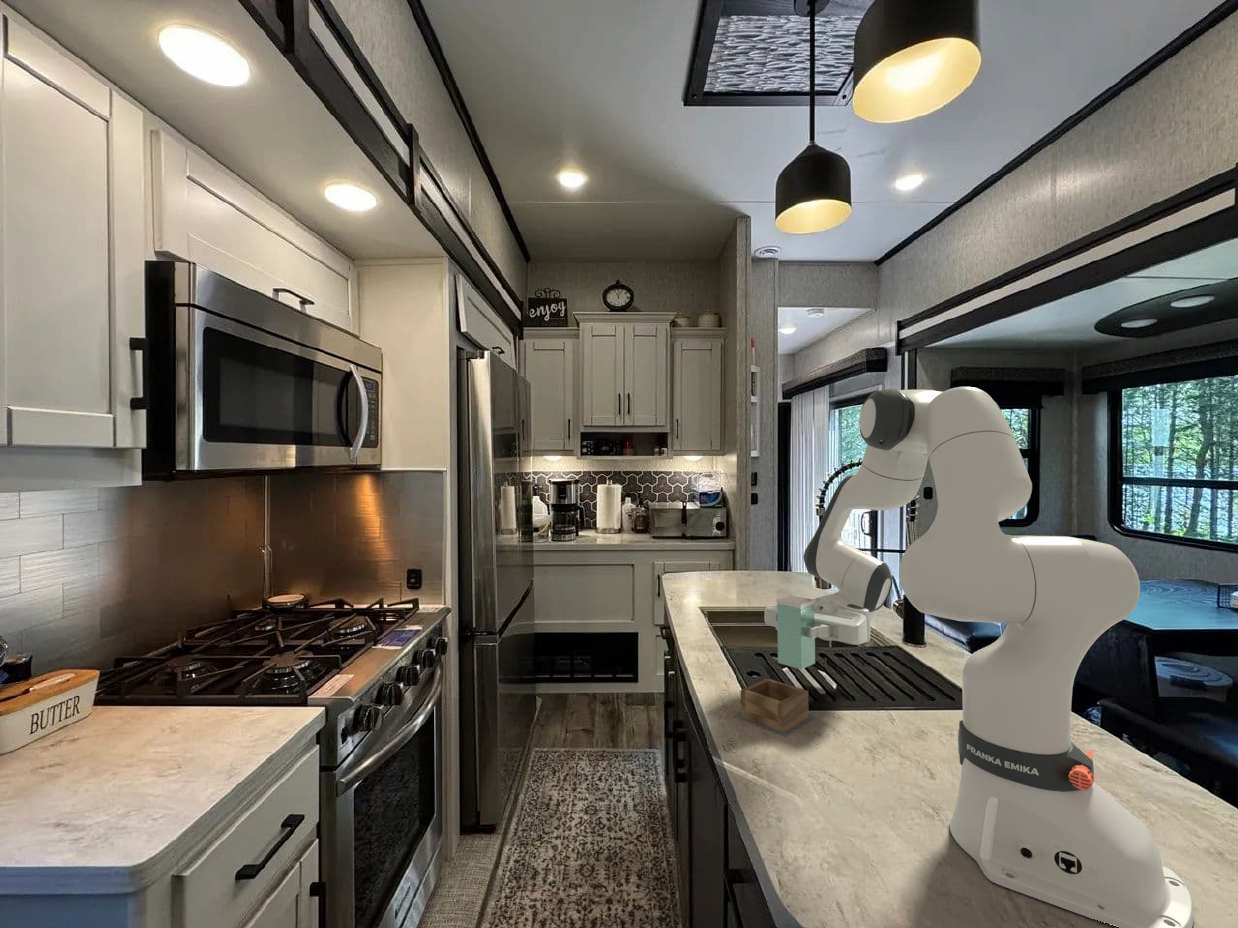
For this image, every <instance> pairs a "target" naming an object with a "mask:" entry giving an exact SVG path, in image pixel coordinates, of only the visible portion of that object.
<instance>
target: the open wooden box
mask: <svg viewBox="0 0 1238 928" xmlns="http://www.w3.org/2000/svg"><path fill="white" fill-rule="evenodd" d="M740 713H741V717H744V718H746V719H749V720H752V721H754V722H757V723H759V724H762V725H765V726H767V727H770V728H772V729H775V730H777V731H780V732H785V731H787V730H788V729H790V728H792V727H793V726H795V725H797V724H798V723H800V722H802V721H803V720H805V719H807V718H809V715H810V714H809V690H806V689H803V688H800V687H798V686H793V685H790V684H786V683H784V682H780V681H778V680H775V679H771V678H769V677H768V678H767V677H766V678H764V679H762V680H760V681H758V682H755V683H753V684H751V685H749V686H746V687H745V688H742V689H741V690H740Z"/></svg>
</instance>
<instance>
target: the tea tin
mask: <svg viewBox="0 0 1238 928" xmlns="http://www.w3.org/2000/svg"><path fill="white" fill-rule="evenodd" d="M813 599H814V598H807V597H801V596H796V595H788V596H784V597H780V598H777V599H776V605H777V625H778V630H777V663H778V664H781V665H785V666H788V667H791V668H795V669H799V670H803V669H805V668H807V667H810V666H812V665H815V664H816V641H815V640H816V638H814V639H813V638H809V637H806V635H805V634H806V632H805V629H806V628H807V627H810V626H811V627H815V617H814V604H815V600H813Z"/></svg>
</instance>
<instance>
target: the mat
mask: <svg viewBox="0 0 1238 928" xmlns="http://www.w3.org/2000/svg"><path fill="white" fill-rule="evenodd" d="M733 717H734V718H735V719H736V718H737V719H738V720H741V721H744V722H746V723H749V724H751V725H755V727H758V728H762V729H765V730H767V731H770V732H773V733H775V734H776V735H779V736H783V737H787V736H788V735H790V734H792V733H794V732H795V731H797V730H799V729H801V728H802V727H804V726H805V725H807V724H808V723H810V722H811V721H814V720H815V719H817V717H815V716H813V715H810V714H809V718H807V719H805V720H803V721H802V722H800V723H798V724H797V725H795V726H793V727H792V728H790V729H788V730H787V731H785V732H780V731H777V730H775V729H772V728H770V727H767V726H765V725H762V724H759V723H757V722H754V721H752V720H749V719H746V718H744V717H741V712H739V713H737V714H735V715H734V716H733Z"/></svg>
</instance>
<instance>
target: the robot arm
mask: <svg viewBox="0 0 1238 928" xmlns="http://www.w3.org/2000/svg"><path fill="white" fill-rule="evenodd" d="M858 421H859V423H858V424H859V432H860V436H861V438H862V440H863V441H864V442H865V444H867V446H866V449H865V451H864V454H863V458H862V460H861V461H862V462H861V465H860V467H859V469H858V470H857V472H856V473H855V474H853V475H848V476H846V477H844V479H842V481H841V482H840V483H838V485H837V487H836V489H835V491H834V493H833V494H832V496H831V499H830V501H829V503H828V504H827V507H826V508H825V512H824V513H823V515H822V518H821V520H820V523H819V524H818V527H817V529H816V531H815V533H814V534H813V536H812V538H811V539H810V541H809V543H808V545H807V546H806V548H805V550H804V552H803V557H802V558H803V563H804V566H805V569H806V570H807V571H806V572H807V573H808V574H810V575H812V576H813V577H815V578H818V579H820V580H822V581H825V582H826V583H828V584H830V585H832V586H833V587H835V588H837V589H838V591H836V592H834V593H831V594H830V593H829V594H826V595H822V596H819V597H816V598H812V599H813V600H815V604H814V617H815V627H811V626H810V627H807V628H806V629H805V632H806V634H805V635H806V637H809V638H813V639H814V638H815V639H817V638H819V639H821V640H824V641H835V642H841V643H844V644H848V645H862V644H864V643H868V642H870V640H871V631H872V630H871V623H872V622H873V621H874V619H875V618H876V617H877V615H878V613H879V610H880V609H881V608H883V606H884V605H885V603H886V602H887V599H888V598H889V596H890V593H891V591H892V588H893V577H892V572H891V570H890V567H889V565H888V564H887V563H886V562H884V561H882V560H880V559H878V558H877V557H875V556H873V555H871V554H869V553H867V552H864V551H862V550H860V549H858V548H856V547H854V546H852V545H850V544H848V543H847V542H845V541H844V539H843V538H842V537H841V534H842V532H843V530H844V528H845V525H846V524H847V521H848V519H849V517H850V515H851V514H852V511H853V510H870V511H889V510H895V509H899V508H902V507H904V506H906V505H908V504H909V503H910V502H912V501H913V500H914V499H915V497H916V495H917V494H918V491H919V490H920V487H921V484H922V482H923V478H924V475H925V472H926V469H927V464H928V461H929V464H930V469H931V472H932V475H933V476H932V477H933V482H934V485H935V491H936V492H935V493H936V499H937V510H936V515H935V518H934V520H933V522H932V524H931V525H930V527H929V528H928V530H927V531H926V532H924V534H923V535H921V536H920V537H919V538H917V539H915V540H914V541H913V542H912V543H910V545H909V546H908V547H907V548H906V550H905V552H904V553H903V554H902V556H901V557H902V558H901V560H900V564H899V570H898V571H899V573H898V574H899V581H900V582H899V584H900V585H901V589H902V591H903V594H904V595H905V596H906V598H907V599H908V601H909V603H910V604H911V605H912V606H913V607H914V608H916V610H917V611H919V612H920V613H923V614H927V615H931V616H935V617H937V618H938V617H939V618H943V619H949V620H953V621H958V622H969V623H970V622H971V623H995V624H996V623H999V624H1001V623H1002V624H1007V625H1006V627H1005V629H1004V631H1003V632H1002V634H1001V635H1000V636H999V637H998V638H997V640H995V641H994V642H992V643H991V644H989V645H986V646H985V647H982V648H981V649H978V650H977V651H974V652H973V653H972V654H971V655H969V657H968V658H967V659H966V661H965V662H964V664H963V666H962V670H961V684H962V685H961V690H962V694H961V695H962V701H961V702H962V720H961V719H960V721H959V723H958V731H957V751H958V755H959V757H958V758H959V764H960V766H961V769H960V770H961V772H960V779H959V787H958V793H957V798H956V803H955V808H954V811H953V814H952V817H951V818H950V822H949V830H950V833H951V836H952V837H953V839H954V841H955V842H956V843H957V844H958V846H959V847H961V848H962V849H963V850H964V852H965V853H967V854H968V855H969V856H970V857H972V858H973V860H975V861H976V863H977V864H978V866H979V868H980V869H981V872H983V874H984V876H985V877H986V878H987V879H988V880H989V881H991V882H992V883H995V884H997V885H999V886H1001V887H1004V888H1007V889H1008V890H1009V889H1010V890H1013V891H1016V892H1017V893H1021V894H1023V895H1026V896H1029V897H1032V898H1034V899H1037V900H1040V901H1042V902H1046V903H1047V904H1050V905H1053V906H1057V907H1059V908H1062V909H1063V910H1064V909H1065V910H1067V911H1070V912H1073V913H1075V914H1078V915H1081V916H1084V917H1086V918H1088V919H1092V920H1094V919H1095V921H1097V920H1098V921H1097V922H1100V921H1101V922H1100V923H1102V922H1105V923H1108V924H1112V925H1116V926H1118V927H1120V928H1193V925H1194V919H1195V912H1194V905H1193V899H1192V896H1191V893H1190V891H1189V888H1188V887H1187V885H1186V883H1185V882H1184V881H1183V879H1182V878H1181V877H1179V876H1178V875H1177V873H1175V872H1174V871H1173V870H1172V869H1171V868H1169V867H1167V866H1165V865H1163V863H1162V860H1161V856H1160V851H1159V850H1158V847H1157V844H1156V842H1155V841H1156V840H1155V839H1154V836H1153V835H1152V834H1151V832H1150V830H1149V828H1148V827H1147V826H1146V825H1145V824H1144V823H1143V821H1141V820H1140V819H1138V818H1137V817H1136V816H1135V815H1134V814H1132V813H1131V812H1130V811H1129V810H1128V809H1127V808H1125V806H1123V805H1121V804H1120V803H1119V802H1118V801H1117V800H1115V799H1114V798H1113V797H1112V796H1111V795H1110V794H1108V792H1106V791H1105V789H1103V788H1101V787H1100V786H1099V785H1098V784H1097V783H1096V782H1094V780H1095V770H1094V769H1095V768H1094V760H1093V757H1094V756H1093V752H1092V750H1090V749H1089V750H1087V753H1085V752H1083V751H1082V750H1081V749H1080V748H1079V747H1078V746H1077V745H1075V743H1073V742H1072V741H1071V731H1072V730H1071V725H1072V724H1071V723H1072V720H1071V719H1072V717H1071V715H1072V701H1073V700H1072V699H1073V698H1072V697H1073V687H1074V681H1075V678H1076V675H1077V672H1078V670H1079V667H1080V666H1081V663H1082V661H1083V659H1084V657H1085V656H1086V654H1087V652H1088V651H1089V649H1091V646H1092V645H1094V643H1095V642H1096V640H1097V639H1098V638H1100V636H1101V635H1102V634H1104V633H1105V632H1106V631H1107V630H1108V629H1110V628H1111V627H1112V626H1115V625H1116V624H1117V623H1119V622H1121V621H1123V620H1125V619H1126V618H1128V617H1129V616H1130V615H1132V612H1133V611H1134V610H1135V608H1136V606H1137V605H1138V602H1139V600H1140V594H1141V581H1140V577H1139V573H1138V571H1137V569H1136V568H1135V566H1134V564H1133V562H1132V561H1131V560H1130V559H1129V558H1128V557H1127V556H1126V554H1125V553H1123V551H1121V550H1120V548H1117V547H1116V546H1114V545H1112V544H1109V543H1103V542H1101V541H1096V540H1090V539H1085V538H1079V537H1078V538H1077V537H1073V536H1065V535H1064V536H1061V535H1057V536H1056V535H1011V534H1006V533H1004V532H1003V531H1002V529H1001V526H1000V524H999V522H1002V521H1005V520H1006V519H1008V518H1011V517H1012V516H1013V515H1015V514H1017V513H1018V512H1020V511H1021V510H1022V509H1024V507H1025V506H1026V505H1027V504H1028V503H1029V500H1030V498H1031V495H1032V492H1033V491H1032V490H1033V483H1032V480H1031V478H1030V475H1029V473H1028V470H1027V467H1026V464H1025V461H1024V459H1023V456H1022V454H1021V451H1020V448H1019V445H1018V442H1017V440H1016V438H1015V436H1014V433H1013V430H1012V429H1011V427H1010V425H1009V422H1008V421H1007V419H1006V417H1005V415H1004V413H1003V412H1002V410H1001V408H1000V405H998V403H997V402H996V401H995V400H994V399H993V398H992V396H991V395H989V394H988V393H987V392H986V391H984V390H982V389H980V388H978V387H972V386H958V387H952V388H949V389H946V390H944V391H939V390H935V389H901V390H899V389H897V388H886V389H881V390H876V391H874V392H872V393H871V394H869V396H867V398H865V400H864V402H863V403H862V406H861V410H860V414H859V420H858ZM764 622H765V624H766V625H767V626H770V627H773V628H774V627H775V630H776V631H778V625H777V604H775V605H774V604H773V605H771V606H766V607H765V608H764ZM1105 923H1104V924H1105ZM1108 924H1107V925H1108Z"/></svg>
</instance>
